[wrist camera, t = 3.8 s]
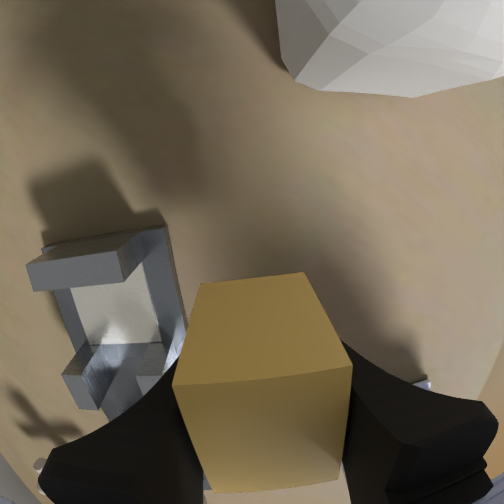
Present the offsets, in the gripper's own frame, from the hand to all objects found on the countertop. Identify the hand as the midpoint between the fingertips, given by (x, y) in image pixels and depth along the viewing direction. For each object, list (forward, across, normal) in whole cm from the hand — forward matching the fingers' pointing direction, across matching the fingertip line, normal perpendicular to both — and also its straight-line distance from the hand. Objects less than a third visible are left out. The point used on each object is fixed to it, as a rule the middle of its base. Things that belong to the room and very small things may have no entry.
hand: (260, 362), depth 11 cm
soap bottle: (+9, -8, -15) cm, 19 cm away
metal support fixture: (+9, +9, +10) cm, 16 cm away
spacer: (+2, 0, 0) cm, 2 cm away
